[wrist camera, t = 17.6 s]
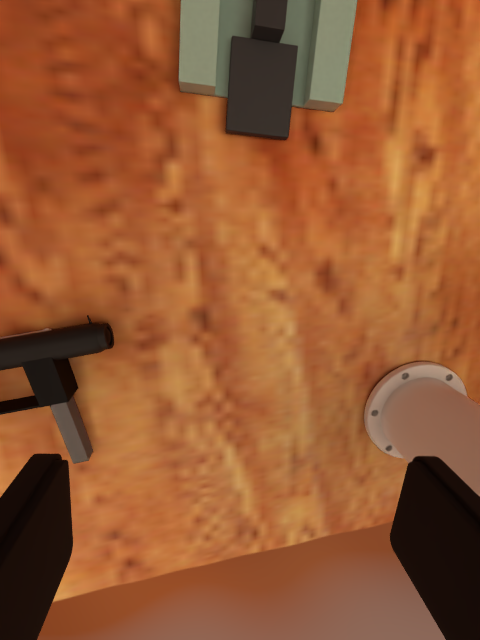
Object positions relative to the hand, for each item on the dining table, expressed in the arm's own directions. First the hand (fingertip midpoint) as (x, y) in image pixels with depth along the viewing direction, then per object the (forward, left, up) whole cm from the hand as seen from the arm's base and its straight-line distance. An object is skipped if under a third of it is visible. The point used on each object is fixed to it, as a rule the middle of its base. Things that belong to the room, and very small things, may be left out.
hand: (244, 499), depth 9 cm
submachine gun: (+19, +11, -27) cm, 34 cm away
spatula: (-3, -25, -26) cm, 36 cm away
